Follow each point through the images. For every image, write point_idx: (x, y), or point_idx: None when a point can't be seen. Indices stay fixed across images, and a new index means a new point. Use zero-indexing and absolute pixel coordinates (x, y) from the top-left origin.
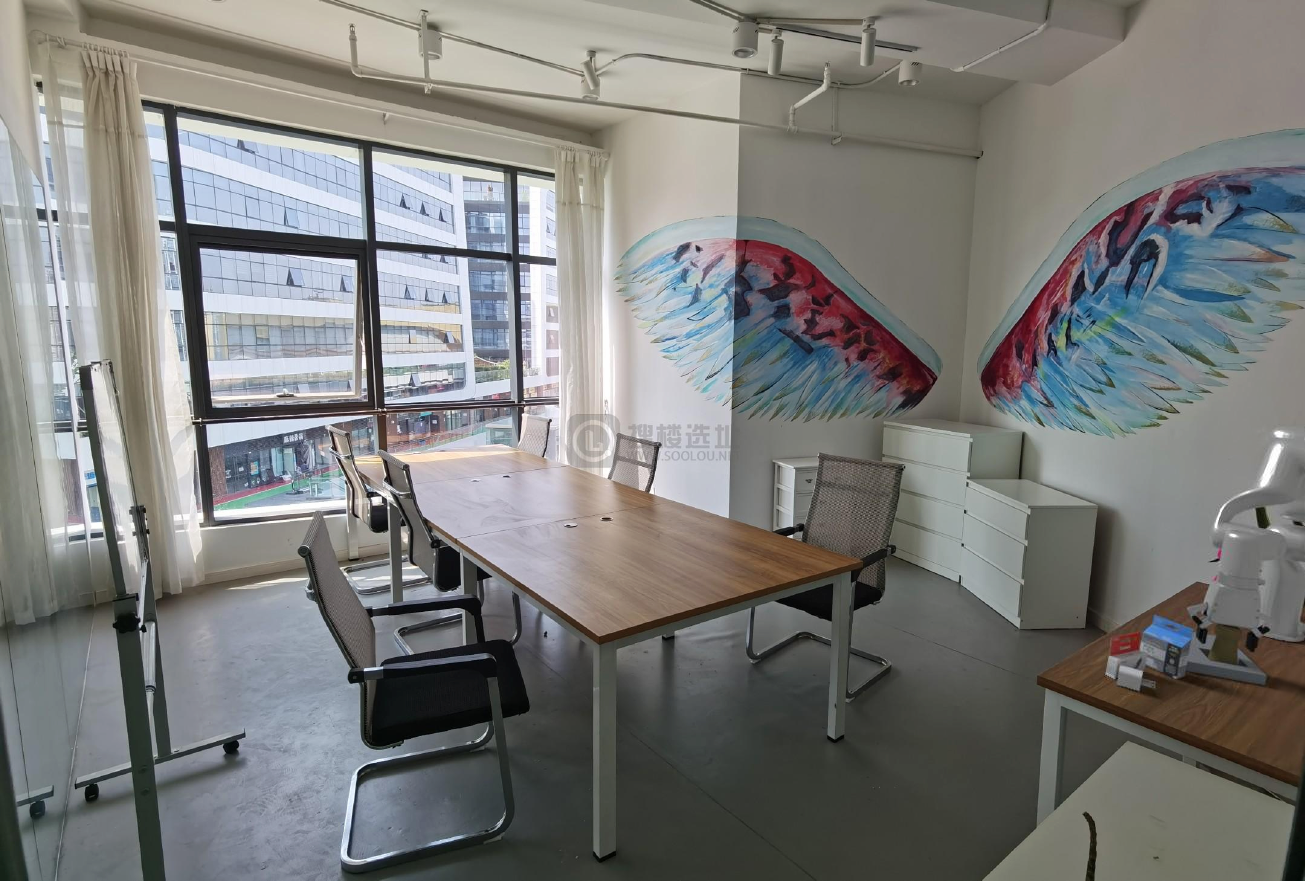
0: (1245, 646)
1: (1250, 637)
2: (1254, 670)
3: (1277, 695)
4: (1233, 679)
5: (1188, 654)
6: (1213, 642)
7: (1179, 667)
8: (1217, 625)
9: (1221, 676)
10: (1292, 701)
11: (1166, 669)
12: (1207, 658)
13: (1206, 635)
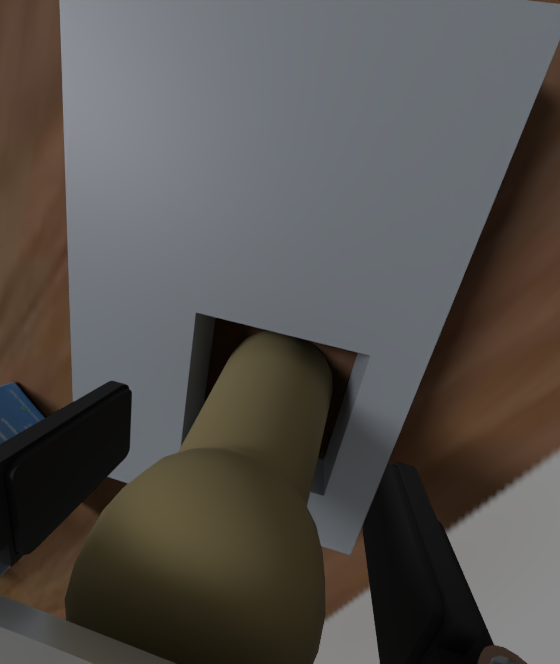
0: (387, 469)
1: (394, 629)
2: (329, 518)
3: (336, 564)
4: None
5: (5, 571)
6: (199, 413)
7: None
8: (67, 598)
9: None
10: (357, 592)
11: None
12: (179, 434)
13: (74, 505)
